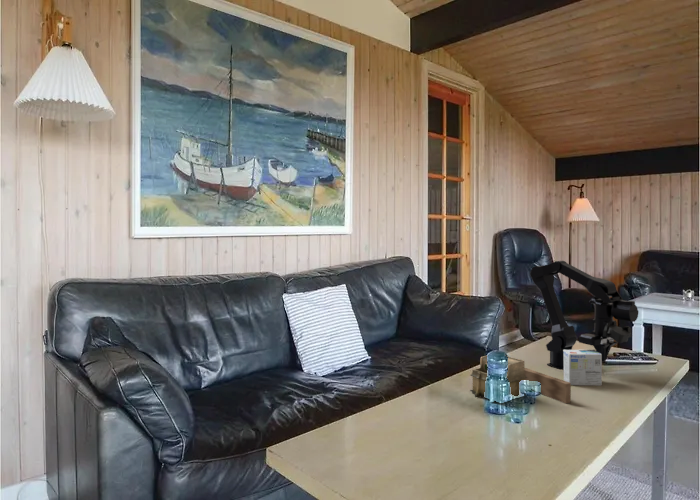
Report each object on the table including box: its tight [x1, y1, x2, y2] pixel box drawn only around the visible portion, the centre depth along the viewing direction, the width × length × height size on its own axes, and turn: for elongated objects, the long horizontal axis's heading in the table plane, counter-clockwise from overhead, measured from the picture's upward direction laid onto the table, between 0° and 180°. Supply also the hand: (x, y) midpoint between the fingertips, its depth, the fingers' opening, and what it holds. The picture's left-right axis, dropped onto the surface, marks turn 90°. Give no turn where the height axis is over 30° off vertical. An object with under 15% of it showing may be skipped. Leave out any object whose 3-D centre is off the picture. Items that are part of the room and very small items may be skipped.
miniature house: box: [469, 355, 527, 398], centre depth 155 cm, size 15×14×11 cm
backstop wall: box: [524, 367, 572, 404], centre depth 156 cm, size 22×2×6 cm, turn 26°
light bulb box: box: [563, 349, 603, 386], centre depth 165 cm, size 11×7×11 cm, turn 84°
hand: (603, 361), depth 170 cm, fingers closed
